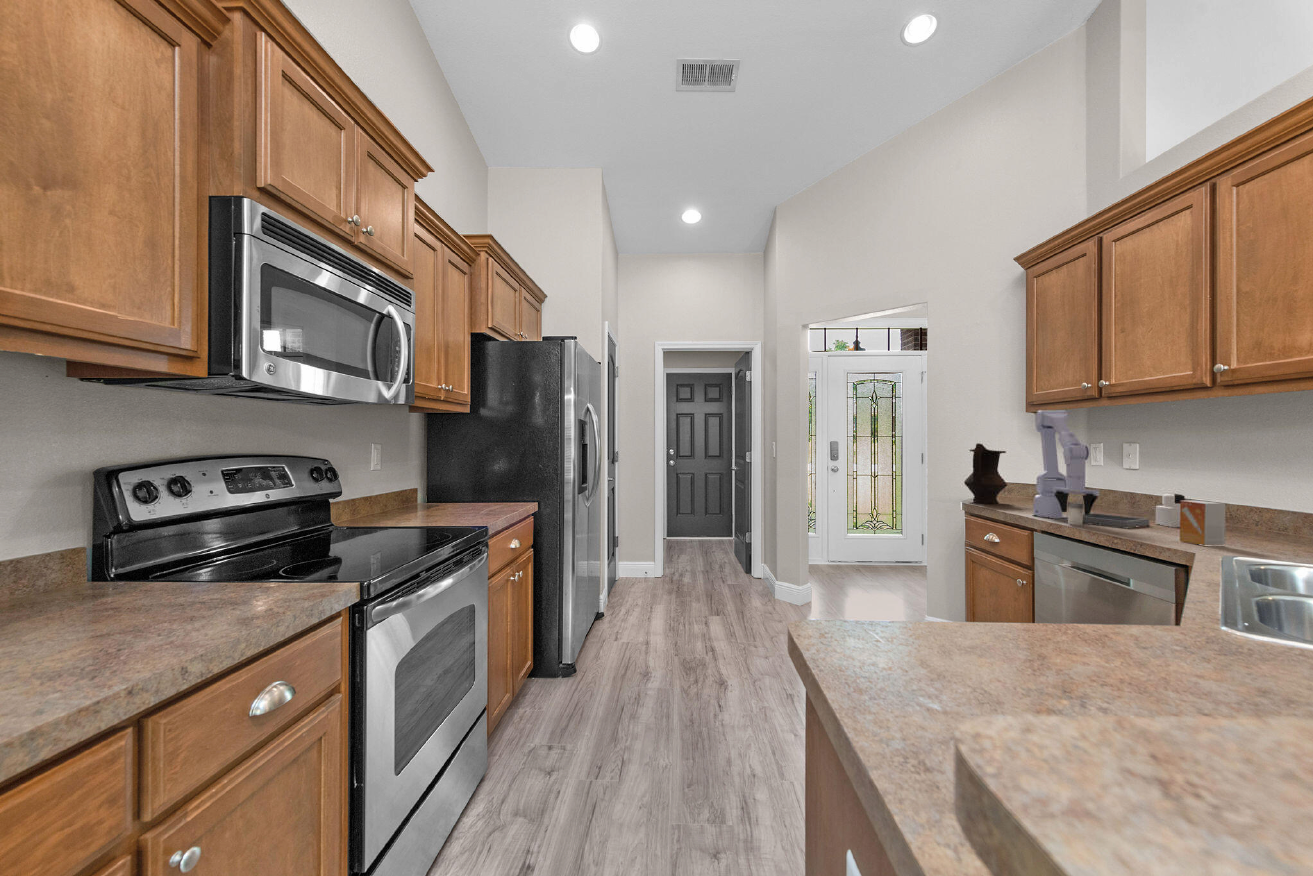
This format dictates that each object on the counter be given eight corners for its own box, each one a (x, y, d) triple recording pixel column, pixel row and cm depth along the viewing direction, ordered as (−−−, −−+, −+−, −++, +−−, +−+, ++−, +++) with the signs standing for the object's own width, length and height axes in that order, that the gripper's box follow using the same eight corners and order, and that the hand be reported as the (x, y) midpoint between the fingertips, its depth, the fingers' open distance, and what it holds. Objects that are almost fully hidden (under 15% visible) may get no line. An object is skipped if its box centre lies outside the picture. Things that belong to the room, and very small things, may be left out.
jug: (972, 499, 288) (973, 443, 288) (1012, 503, 274) (1013, 443, 274) (955, 502, 274) (956, 443, 275) (996, 506, 260) (997, 443, 260)
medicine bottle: (1175, 524, 207) (1175, 493, 207) (1192, 527, 200) (1192, 495, 200) (1155, 524, 208) (1155, 492, 208) (1170, 527, 200) (1171, 494, 200)
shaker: (1065, 524, 206) (1065, 502, 206) (1071, 523, 208) (1072, 502, 208) (1078, 525, 202) (1079, 504, 202) (1085, 525, 204) (1085, 503, 204)
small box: (1179, 541, 172) (1179, 500, 172) (1199, 541, 172) (1199, 500, 172) (1204, 546, 164) (1205, 503, 164) (1226, 546, 164) (1226, 503, 164)
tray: (1070, 521, 213) (1070, 515, 213) (1093, 519, 220) (1093, 513, 220) (1126, 528, 197) (1126, 521, 197) (1149, 525, 204) (1149, 519, 204)
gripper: (1048, 476, 210) (1048, 511, 210) (1092, 478, 197) (1091, 516, 197) (1059, 475, 213) (1058, 510, 213) (1102, 478, 200) (1102, 515, 200)
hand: (1075, 513), depth 205 cm, fingers open, 7 cm apart
